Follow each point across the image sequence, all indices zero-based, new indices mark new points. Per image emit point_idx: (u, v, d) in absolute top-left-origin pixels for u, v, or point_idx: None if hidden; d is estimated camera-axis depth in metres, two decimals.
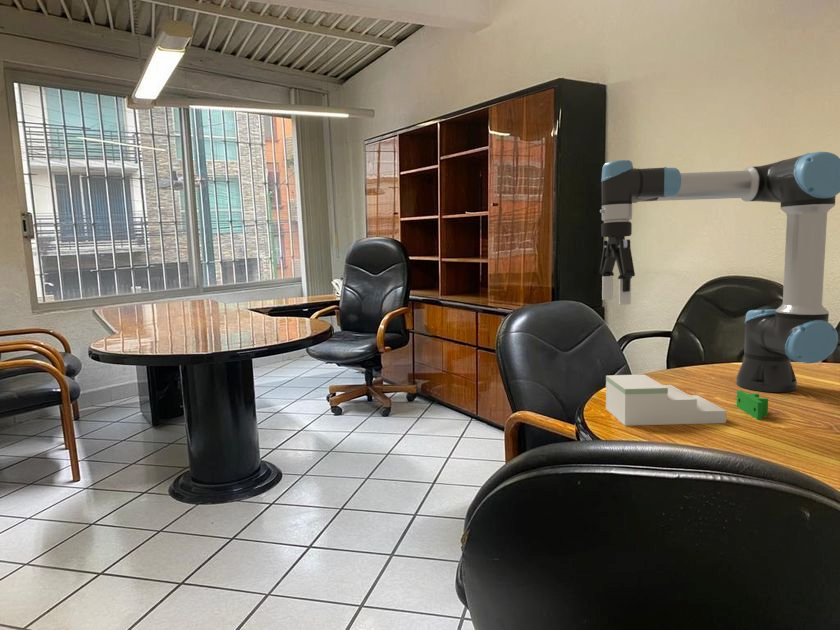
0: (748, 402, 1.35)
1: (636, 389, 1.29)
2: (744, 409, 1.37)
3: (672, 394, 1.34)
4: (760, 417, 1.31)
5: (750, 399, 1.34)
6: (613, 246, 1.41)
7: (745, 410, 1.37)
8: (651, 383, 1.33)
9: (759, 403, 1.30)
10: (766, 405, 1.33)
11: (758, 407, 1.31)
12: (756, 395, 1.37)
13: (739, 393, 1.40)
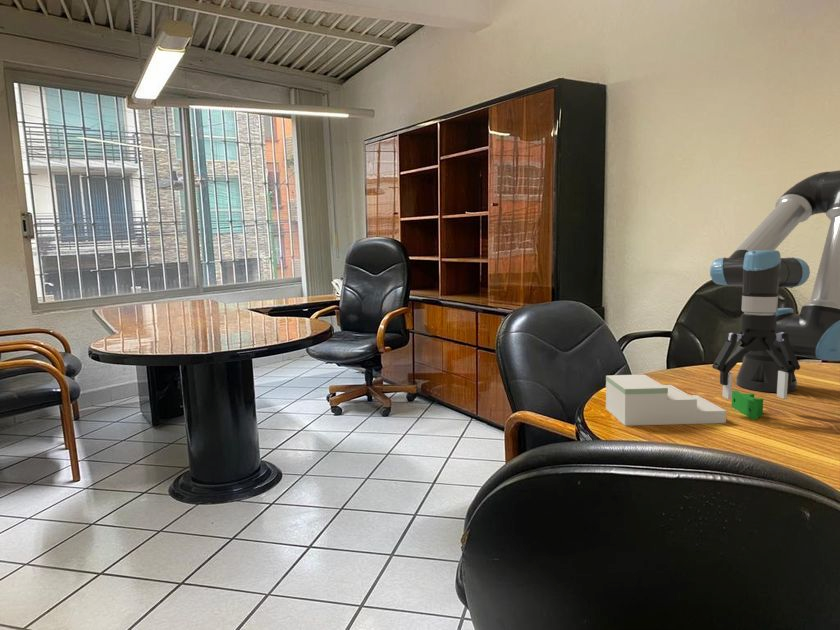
0: (744, 402, 1.35)
1: (636, 389, 1.29)
2: (739, 409, 1.38)
3: (672, 394, 1.34)
4: (755, 417, 1.31)
5: (745, 399, 1.34)
6: None
7: (740, 410, 1.37)
8: (651, 383, 1.33)
9: (754, 403, 1.30)
10: (761, 405, 1.33)
11: (753, 407, 1.31)
12: (751, 395, 1.37)
13: (734, 393, 1.40)
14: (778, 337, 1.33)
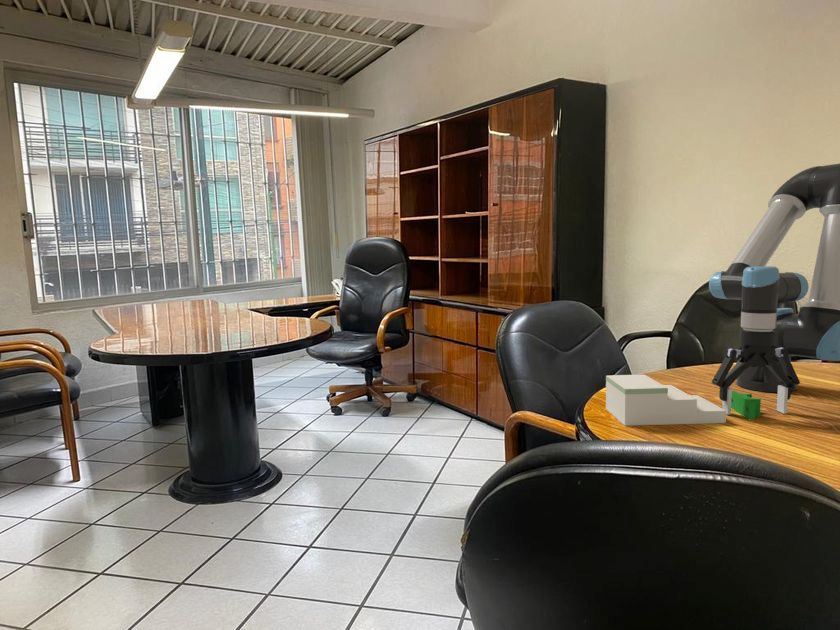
0: (741, 402, 1.35)
1: (636, 389, 1.29)
2: (737, 409, 1.38)
3: (672, 394, 1.34)
4: (752, 417, 1.31)
5: (743, 399, 1.34)
6: None
7: (738, 410, 1.37)
8: (651, 383, 1.33)
9: (751, 403, 1.31)
10: (759, 405, 1.33)
11: (750, 407, 1.31)
12: (749, 395, 1.37)
13: (732, 393, 1.40)
14: (777, 353, 1.34)
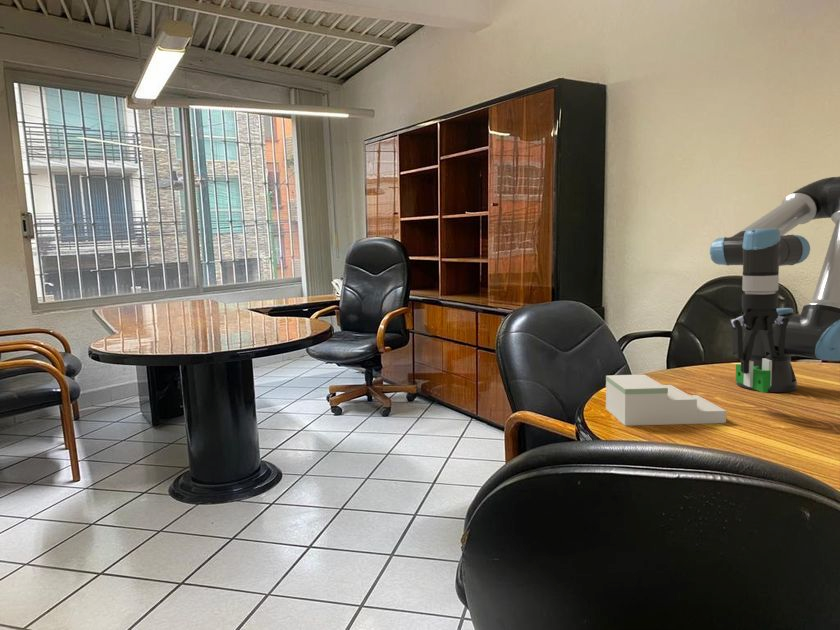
0: None
1: (636, 389, 1.29)
2: None
3: (672, 394, 1.34)
4: (765, 389, 1.30)
5: (753, 372, 1.34)
6: None
7: None
8: (651, 383, 1.33)
9: (764, 375, 1.30)
10: (769, 377, 1.33)
11: (763, 379, 1.30)
12: (756, 368, 1.37)
13: (739, 367, 1.40)
14: (778, 319, 1.33)
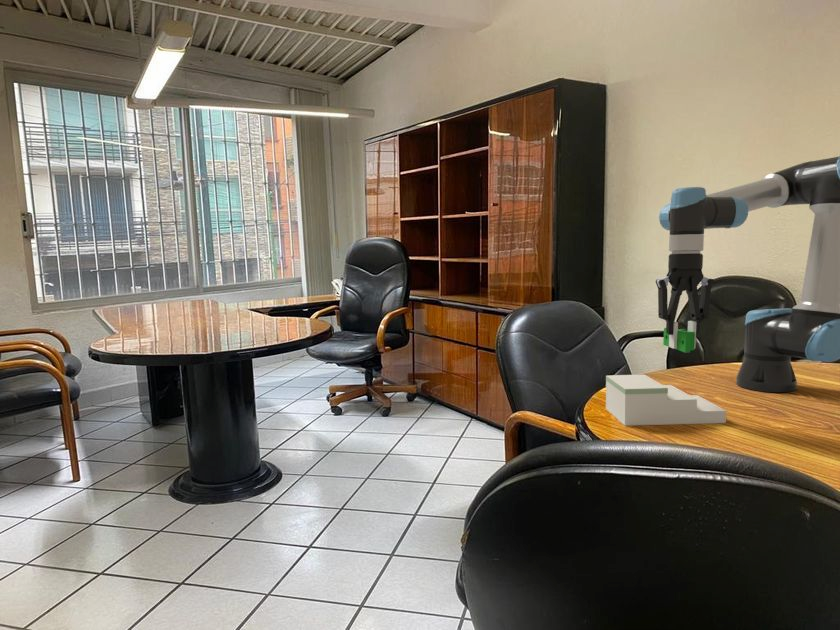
0: None
1: (636, 389, 1.29)
2: None
3: (672, 394, 1.34)
4: (688, 349, 1.29)
5: (678, 333, 1.32)
6: None
7: None
8: (651, 383, 1.33)
9: (687, 335, 1.29)
10: (693, 338, 1.32)
11: (686, 339, 1.29)
12: (683, 330, 1.36)
13: None
14: (704, 280, 1.32)
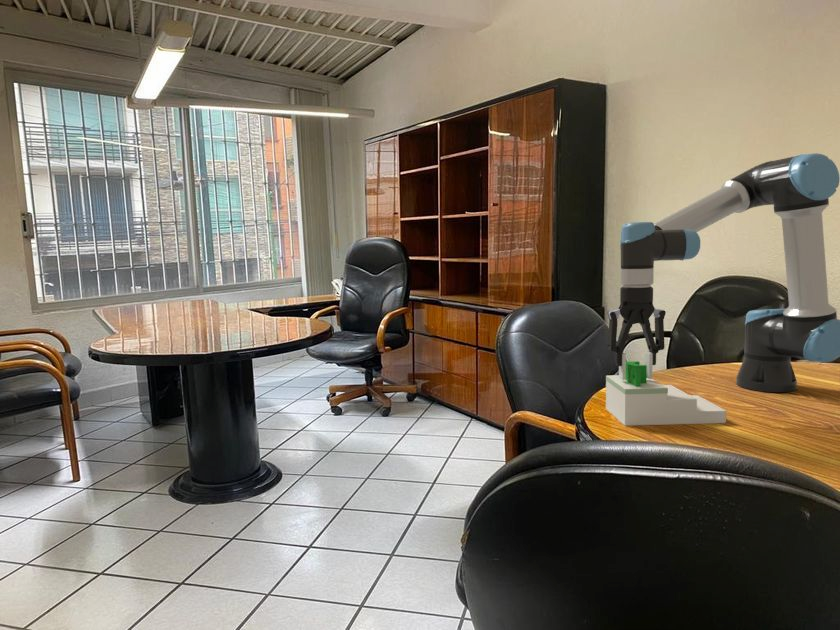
0: (629, 369, 1.35)
1: (636, 389, 1.29)
2: None
3: (672, 394, 1.34)
4: (638, 383, 1.30)
5: (630, 366, 1.34)
6: None
7: (626, 378, 1.37)
8: (651, 383, 1.33)
9: (637, 369, 1.30)
10: (645, 371, 1.33)
11: (636, 373, 1.30)
12: (636, 363, 1.37)
13: None
14: (655, 312, 1.33)
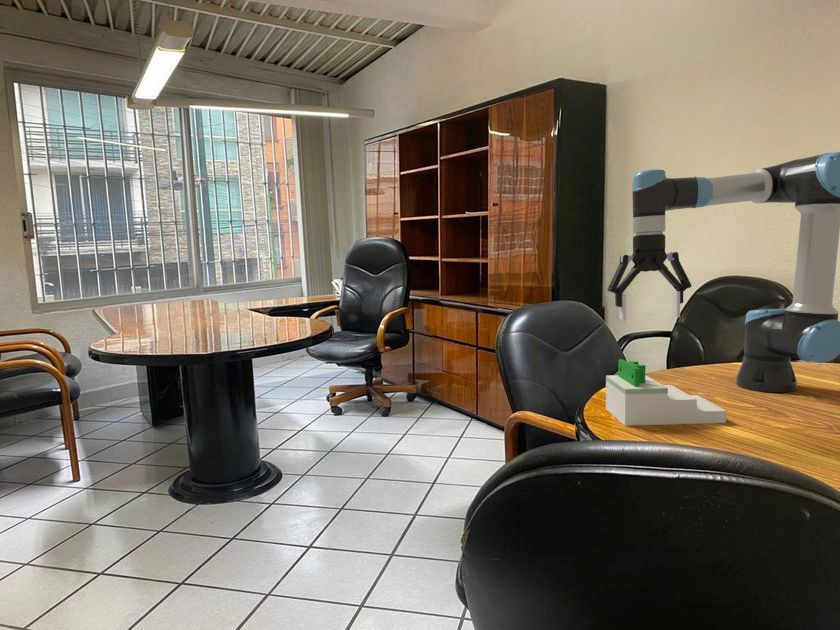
0: (627, 369, 1.35)
1: (636, 389, 1.29)
2: (624, 377, 1.37)
3: (672, 394, 1.34)
4: (637, 383, 1.30)
5: (629, 366, 1.34)
6: None
7: (625, 378, 1.37)
8: (651, 383, 1.33)
9: (636, 369, 1.30)
10: (644, 371, 1.33)
11: (635, 373, 1.30)
12: (635, 363, 1.37)
13: (620, 362, 1.40)
14: (669, 257, 1.35)
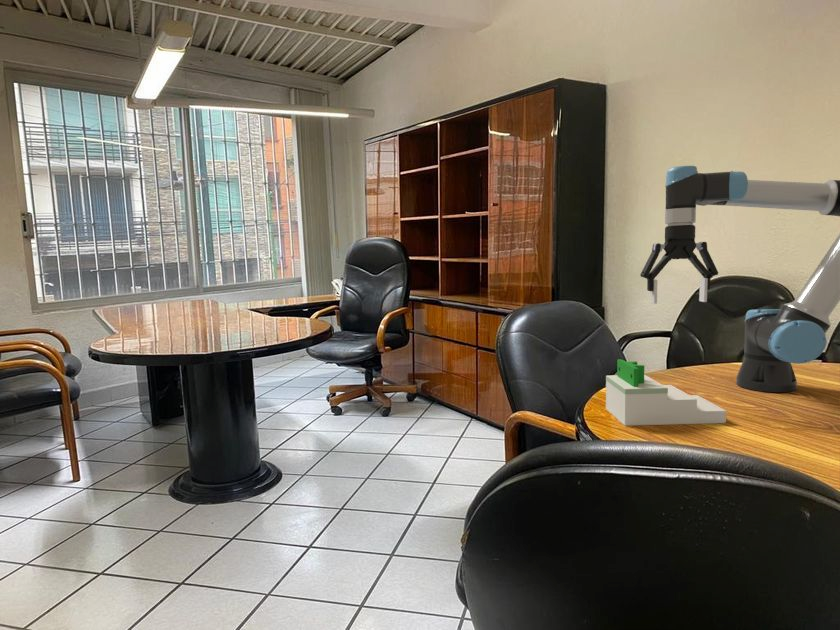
0: (626, 369, 1.35)
1: (636, 389, 1.29)
2: (623, 377, 1.37)
3: (672, 394, 1.34)
4: (636, 383, 1.30)
5: (628, 366, 1.34)
6: None
7: (624, 378, 1.37)
8: (651, 383, 1.33)
9: (635, 369, 1.30)
10: (643, 371, 1.33)
11: (634, 373, 1.30)
12: (634, 363, 1.37)
13: (619, 362, 1.40)
14: (698, 246, 1.48)
